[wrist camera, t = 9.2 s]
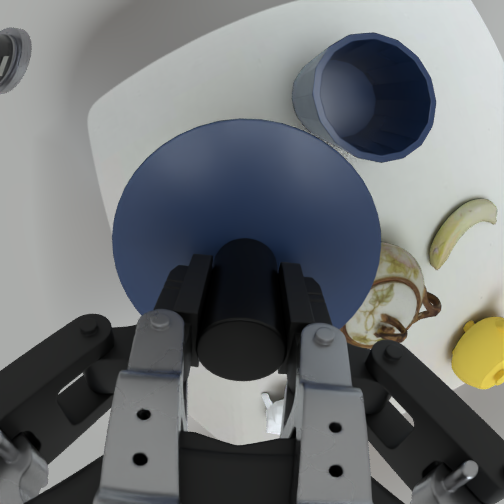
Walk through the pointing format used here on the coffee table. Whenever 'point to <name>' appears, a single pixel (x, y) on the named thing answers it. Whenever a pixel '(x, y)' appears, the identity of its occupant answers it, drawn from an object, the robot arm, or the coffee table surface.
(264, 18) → the coffee table surface
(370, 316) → the sugar bowl
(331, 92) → the pot
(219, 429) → the coffee table surface
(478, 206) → the fruit
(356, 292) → the lid
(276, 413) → the white animal figurine
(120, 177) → the coffee table surface
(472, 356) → the teapot
